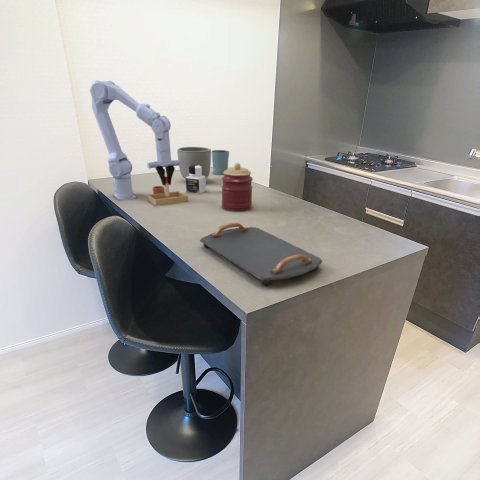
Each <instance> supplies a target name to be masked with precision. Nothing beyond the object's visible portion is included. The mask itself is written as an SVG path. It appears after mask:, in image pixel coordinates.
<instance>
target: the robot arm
mask: <svg viewBox="0 0 480 480" xmlns="http://www.w3.org/2000/svg"><path fill="white" fill-rule="evenodd" d="M89 93H90V94H91V109H92V111H93V114H94V117H95V119H96V122H97V126H98V128H99V130H100V133H101V135H102V139H103V141H104V144H105V147H106V149H107V152H108V155H109V156H108V159H107V163H108V170H109V173H110V174H111V176H112V178H113V183H112V184H113V187H114V188H113V189H114V193H113V197H115V198H116V199H118V200H127V199H135V198H137V196H136V195H135V194H134V189H133V183H132V174H131V173H132V171H133V164H132V162H131V161H130V159H129V158H128V155H127V154H126V153H125V152H124V151H123V150H122V148H121V145H120V142H119V139H118V136H117V133H116V130H115V128H114V125H113V122H112V119H111V116H110V114H109V108H110V106H111V104H112V103H113V102H114V101H119V102H120V103H122V104H123V105H125V107H127V108H129V109H131V110H132V111H134V112H135V114H136V118H137V119H139V120H140V121H142V122H143V123H144V124H146V125H147V126H149V127H150V128H151V130H152V132H153V133H154V140H155V149H156V161H151V162H146V165H147V166H146V167H147V169H150V170H151V169H153V168H154V169H155V170H156V172H157V175H158V176H159V178H160V181H161V186H165V185H166V183H165V176H167V177H168V181H169V183H168V184H169V186H171V185H172V180H173V179H172V178H173V175H174V172H175V170H176V167H177V166H178V167H179V166H182V165H181V161H180V160H178V159H177V160H175V159H174V160H172V153H171V141H170V130H171V125H172V124H171V122H170V119H169V118H168V117H167V116H165V115H161V113H160V112H156V111H155V110H154V109H153V108H151V105H150V104H148V103H139V102H138V101H137V100H135V98H133V97H132V96H131V95H130V94H129V93H127V92H126V91H125V90H124V89H122V87H120V85H118V84H116V83H114V82H113V81H112V80H106V81H105V80H103V81H102V80H95V81H93V82H92V84H91V85H90V88H89Z"/></svg>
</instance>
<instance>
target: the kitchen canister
mask: <svg viewBox="0 0 480 480" xmlns="http://www.w3.org/2000/svg"><path fill="white" fill-rule="evenodd" d="M224 174H225V175H222V177H221V180H222V185H221V206H222V208H223V209H224V210H227V211H231V212H232V211H233V212H243V211H248V210H250V209H252V205H253V204H252V203H253V199H252V198H253V186H252V181H253V180H254V179H253V177H252V176H251V174H252V172H251V170H249V169H248V168H246V167H241V164H240V163H239V162H236V163H234V165H233V166H232V167H228V169H227V170H225V171H224Z"/></svg>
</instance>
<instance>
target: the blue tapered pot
mask: <svg viewBox="0 0 480 480" xmlns="http://www.w3.org/2000/svg"><path fill="white" fill-rule="evenodd" d="M229 157H230V151H229V150H224V149H213V150H211V163H212V173H213V174H214V175H216V176H224V175H225V174H224V171H225V170H227V169H228V168H229Z"/></svg>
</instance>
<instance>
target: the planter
mask: <svg viewBox="0 0 480 480" xmlns="http://www.w3.org/2000/svg"><path fill="white" fill-rule="evenodd" d="M211 151H212V150H211V148H209V147H203V146H183V147H178V148H177V150H176V152H177V153H176V154H177V160H180V161H181V165H182V166H178V167H179V173H180V176H181V177H182V178H183V179H184V180H186V177H188V176H190V175H189V166H191V165H199V166H201V167H202V176H205V179H207V178H208V177H209V176H210V172H211V163H212V152H211Z"/></svg>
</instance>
